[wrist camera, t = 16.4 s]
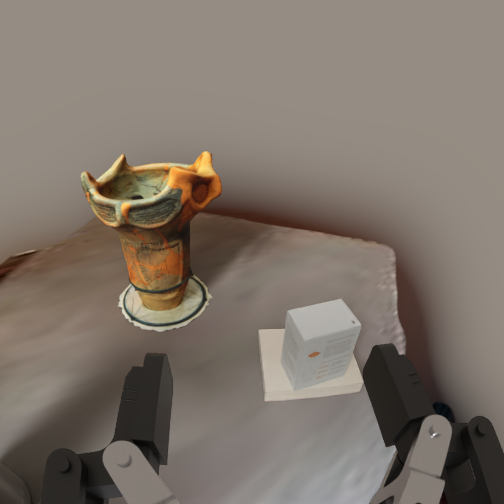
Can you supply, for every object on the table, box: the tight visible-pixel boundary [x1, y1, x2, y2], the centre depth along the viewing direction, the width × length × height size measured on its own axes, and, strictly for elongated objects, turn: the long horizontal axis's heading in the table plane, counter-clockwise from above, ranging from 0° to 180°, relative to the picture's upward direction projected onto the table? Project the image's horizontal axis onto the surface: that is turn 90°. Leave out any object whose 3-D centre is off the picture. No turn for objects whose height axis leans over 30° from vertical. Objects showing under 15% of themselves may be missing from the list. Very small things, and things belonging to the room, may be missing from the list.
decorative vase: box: [81, 152, 222, 332], centre depth 52 cm, size 21×23×28 cm
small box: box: [281, 298, 362, 391], centre depth 40 cm, size 8×6×10 cm
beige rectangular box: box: [258, 329, 364, 401], centre depth 46 cm, size 14×12×2 cm
